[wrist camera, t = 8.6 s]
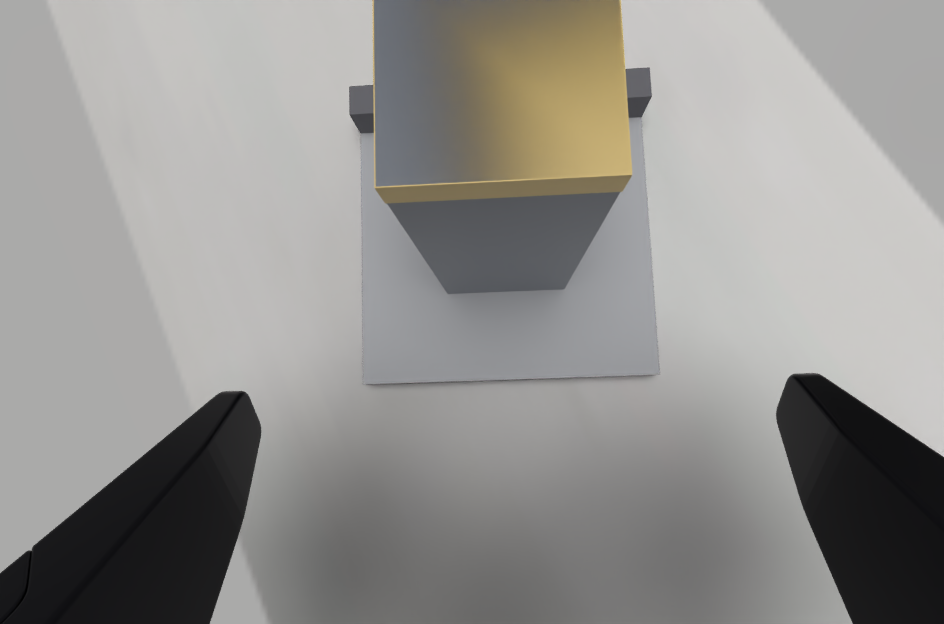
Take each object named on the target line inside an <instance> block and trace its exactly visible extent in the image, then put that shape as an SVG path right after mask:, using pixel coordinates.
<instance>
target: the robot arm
mask: <svg viewBox="0 0 944 624" xmlns="http://www.w3.org/2000/svg"><path fill="white" fill-rule="evenodd" d="M776 419H777V424H778V428H779V431H780V434H781V437H782V441H783V444H784V447H785V451H786V454H787V457H788V461H789V464H790V467H791V471H792V474H793V477H794V480H795V484H796V487H797V490H798V494H799V497H800V500H801V503H802V506H803V509H804V511H805V514H806V516H807V519H808V521H809V523H810V526H811V528H812V530H813V533H814V535H815V537H816V540H817V542H818V544H819V547H820V549H821V551H822V554H823V556H824V558H825V560H826V563H827V565H828V567H829V570H830V572H831V574H832V577H833V579H834V581H835V584H836V586H837V588H838V590H839V593H840V595H841V597H842V600H843V602H844V604H845V607H846V609H847V611H848V614H849V616H850V618H851V621H852V623H853V624H944V457H943V456H941V455H940V454H938V453H937V452H935V451H934V450H932V449H931V448H929V447H928V446H926V445H925V444H923V443H922V442H921V441H919V440H918V439H916V438H915V437H913V436H912V435H910V434H909V433H907V432H906V431H904V430H903V429H901V428H900V427H898V426H897V425H895V424H894V423H892V422H891V421H889V420H888V419H886V418H885V417H883V416H882V415H880V414H879V413H877V412H876V411H874V410H873V409H871V408H870V407H868V406H867V405H865V404H864V403H862V402H861V401H859V400H858V399H856V398H855V397H853V396H852V395H850V394H849V393H847V392H846V391H844V390H843V389H841V388H840V387H838V386H837V385H835V384H834V383H832V382H831V381H829V380H828V379H826V378H825V377H823V376H822V375H820V374H816V373H804V374H793V375H791V376H790V377H789V378H788V379H787V382H786V384H785V387H784V390H783V393H782V396H781V398H780V401H779V404H778V407H777V411H776ZM260 438H261V425H260V421H259V419H258V417H257V414H256V412H255V409H254V407H253V405H252V402H251V400H250V397H249V396H248V394H247V393H246V392H244V391H224V392H221V393H219V394H217V395H216V396H215V397H214V398H212V399H211V400H210V401H209V402H207V403H206V404H205V405H204V406H203V407H201V408H200V409H199V410H198V411H197V412H195V413H194V414H193V415H192V416H191V417H189V418H188V419H187V420H186V421H184V422H183V423H182V424H181V425H180V426H179V427H177V428H176V429H175V430H174V431H172V432H171V433H170V434H169V435H167V436H166V437H165V438H164V439H163V440H162V441H160V442H159V443H158V444H157V445H155V446H154V447H153V448H152V449H151V450H149V451H148V452H147V453H146V454H144V455H143V456H142V457H141V458H140V459H138V460H137V461H136V462H135V463H134V464H132V465H131V466H130V467H129V468H127V470H125V471H124V472H123V473H121V474H120V475H119V476H118V477H117V478H115V479H114V480H113V481H112V482H111V483H109V484H108V485H107V486H106V487H104V488H103V489H102V490H101V491H100V492H98V493H97V494H96V495H95V496H94V497H92V498H91V499H90V500H89V501H88V502H86V503H85V504H84V505H83V506H81V508H79V509H78V510H77V511H76V512H74V513H73V514H72V515H71V516H69V517H68V518H67V519H66V520H64V521H63V522H62V523H61V524H60V525H58V526H57V527H56V528H55V529H53V530H52V531H51V532H50V533H49V534H47V535H46V536H45V537H44V538H43V539H41V540H40V541H39V542H38V543H37V544H35V545H34V546H33V548H32V551H27V552H25V553H24V554H23V555H22V556H21V557H19V558H18V559H17V560H16V561H15V562H13V563H12V564H11V565H10V566H8V567H7V568H6V569H5V570H4V571H2V572H1V573H0V624H210V621H211V618H212V615H213V611H214V608H215V605H216V602H217V599H218V596H219V593H220V590H221V587H222V584H223V581H224V578H225V575H226V572H227V569H228V566H229V563H230V559H231V557H232V553H233V550H234V547H235V544H236V541H237V538H238V535H239V532H240V529H241V525H242V522H243V519H244V515H245V510H246V506H247V501H248V497H249V492H250V487H251V482H252V477H253V472H254V467H255V463H256V458H257V453H258V448H259V443H260Z"/></svg>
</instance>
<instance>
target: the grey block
mask: <svg viewBox="0 0 944 624" xmlns="http://www.w3.org/2000/svg"><path fill="white" fill-rule="evenodd" d="M373 98H374V188H375V190H376V191H377V193H378V194H379V196H380V197H381V198H382V200H383V201H384V203H385V204H386V203H387V204H388V206H389V207H390V209H391V210H392V212H393V213H394V215H395V216H396V218H397V219H398V221H399V222H400V224H401V225H402V227H403V228H404V230H405V231H406V233H407V234H408V236H409V237H410V239H411V240H412V242H413V243H414V245H415V246H416V248H417V249H418V251H419V252H420V253H421V255H422V256H423V258H424V259H425V261H426V262H427V264H428V265H429V267H430V268H431V270H432V271H433V273H434V274H435V276H436V277H437V279H438V280H439V282H440V283H441V285H442V286H443V288H444V289H445V291H446V292H447V294H462V293H486V292H511V291H536V290H561V289H565V287H566V286H567V284H568V282H569V280H570V279H571V277H572V275H573V273H574V272H575V270H576V268H577V267H578V265H579V263H580V261H581V260H582V258H583V256H584V254H585V253H586V251H587V249H588V247H589V246H590V244H591V242H592V240H593V239H594V237H595V235H596V234H597V232H598V230H599V228H600V227H601V225H602V223H603V221H604V220H605V218H606V216H607V214H608V213H609V211H610V209H611V208H612V206H613V204H614V202H615V201H616V199H617V197H618V195H619V194H620V192H623V190H624V188H625V187H626V185H627V183H628V182H629V180H630V178H631V176H632V161H631V146H630V131H629V116H628V102H627V87H626V72H625V58H624V43H623V28H622V13H621V0H373Z"/></svg>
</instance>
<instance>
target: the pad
mask: <svg viewBox="0 0 944 624" xmlns="http://www.w3.org/2000/svg"><path fill="white" fill-rule="evenodd" d="M625 72H626V87H627V102H628V116H629V131H630V146H631V161H632V176H631V178H630V180H629V182H628V183H627V185H626V187H625V188H624V190H623V192H620V194H619V195H618V197H617V199H616V201H615V202H614V204H613V206H612V208H611V209H610V211H609V213H608V214H607V216H606V218H605V220H604V221H603V223H602V225H601V227H600V228H599V230H598V232H597V234H596V235H595V237H594V239H593V240H592V242H591V244H590V246H589V247H588V249H587V251H586V253H585V254H584V256H583V258H582V260H581V261H580V263H579V265H578V267H577V268H576V270H575V272H574V273H573V275H572V277H571V279H570V280H569V282H568V284H567V286H566V287H565V289H561V290H536V291H511V292H486V293H462V294H447V292H446V291H445V289H444V288H443V286H442V285H441V283H440V282H439V280H438V279H437V277H436V276H435V274H434V273H433V271H432V270H431V268H430V267H429V265H428V264H427V262H426V261H425V259H424V258H423V256H422V255H421V253H420V252H419V251H418V249H417V248H416V246H415V245H414V243H413V242H412V240H411V239H410V237H409V236H408V234H407V233H406V231H405V230H404V228H403V227H402V225H401V224H400V222H399V221H398V219H397V218H396V216H395V215H394V213H393V212H392V210H391V209H390V207H389V206H388V204H387V203H386V204H385V203H384V201H383V200H382V198H381V197H380V196H379V194H378V193H377V191H376V190H375V188H374V98H373V85H365V86H350V87H349V105H350V116H351V118H352V120H353V121H354V123H355V125H356V126H357V128H358V130H359V131H360V133H361V219H362V339H363V384H396V383H426V382H457V381H487V380H518V379H548V378H578V377H609V376H639V375H660V367H659V354H658V340H657V326H656V312H655V298H654V285H653V271H652V257H651V243H650V229H649V216H648V202H647V188H646V174H645V160H644V147H643V133H642V119H641V117H642V115H643V113H644V111H645V109H646V107H647V105H648V103H649V101H650V99H651V97H652V94H651V80H650V68H634V69H625Z"/></svg>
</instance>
